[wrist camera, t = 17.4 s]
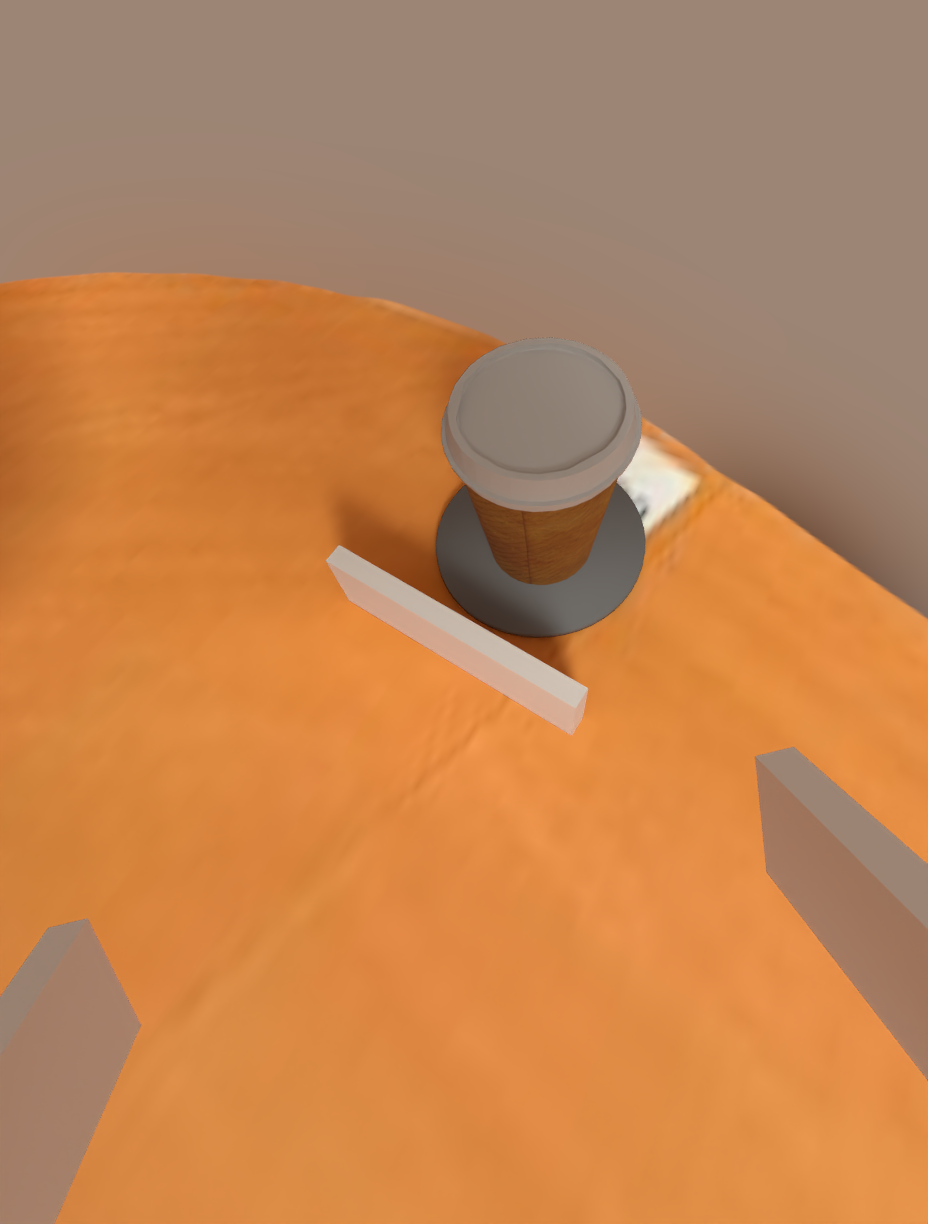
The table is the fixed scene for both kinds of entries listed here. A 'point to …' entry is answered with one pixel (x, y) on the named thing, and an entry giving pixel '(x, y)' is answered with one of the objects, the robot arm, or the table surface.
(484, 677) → the low wall
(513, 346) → the disposable coffee cup
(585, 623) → the rubber pad
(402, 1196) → the table surface
